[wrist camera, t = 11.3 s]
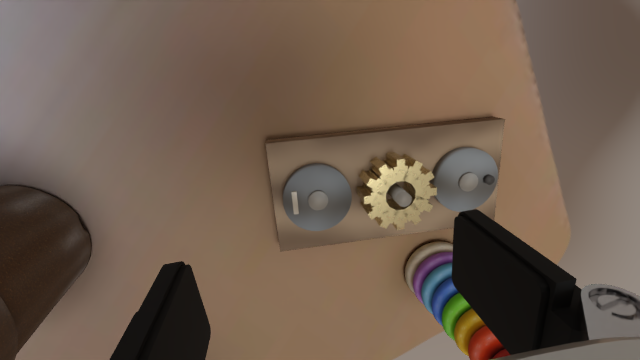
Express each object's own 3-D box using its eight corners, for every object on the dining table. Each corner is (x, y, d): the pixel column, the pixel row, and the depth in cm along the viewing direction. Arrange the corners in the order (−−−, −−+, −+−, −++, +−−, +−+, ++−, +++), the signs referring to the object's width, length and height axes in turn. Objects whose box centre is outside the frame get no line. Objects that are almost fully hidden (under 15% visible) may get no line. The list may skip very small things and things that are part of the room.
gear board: (266, 140, 32) (263, 152, 26) (492, 116, 35) (534, 124, 29) (280, 242, 36) (280, 273, 30) (483, 215, 38) (518, 238, 33)
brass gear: (355, 156, 32) (362, 163, 29) (424, 148, 33) (438, 155, 30) (358, 221, 34) (365, 234, 31) (422, 213, 35) (435, 225, 32)
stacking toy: (446, 226, 38) (591, 353, 20) (471, 271, 41) (619, 417, 23) (391, 261, 39) (487, 414, 21) (419, 303, 41) (526, 470, 24)
